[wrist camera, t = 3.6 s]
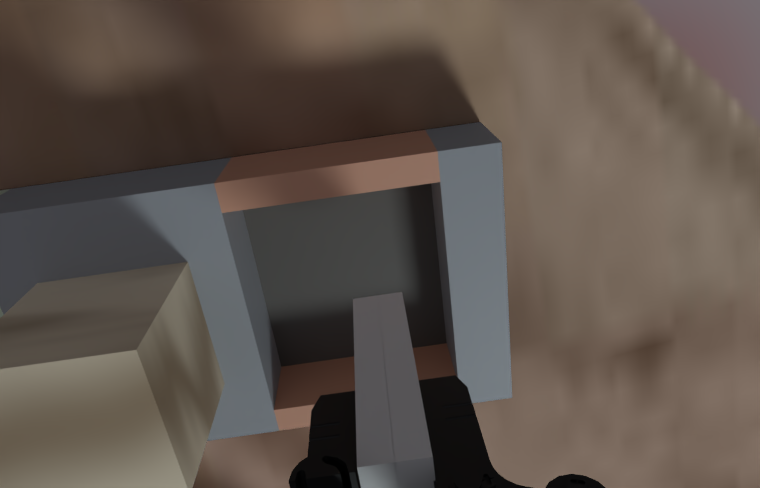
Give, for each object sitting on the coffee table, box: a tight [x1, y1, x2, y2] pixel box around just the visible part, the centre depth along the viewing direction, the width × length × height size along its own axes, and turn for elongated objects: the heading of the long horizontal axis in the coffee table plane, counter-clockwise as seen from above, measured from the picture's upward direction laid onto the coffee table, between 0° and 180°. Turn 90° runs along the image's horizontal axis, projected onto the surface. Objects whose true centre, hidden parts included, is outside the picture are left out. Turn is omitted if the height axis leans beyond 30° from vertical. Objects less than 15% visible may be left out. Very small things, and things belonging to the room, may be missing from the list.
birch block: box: [0, 262, 225, 488], centre depth 17 cm, size 5×5×5 cm
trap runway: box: [0, 122, 512, 441], centre depth 21 cm, size 10×34×3 cm, turn 97°
